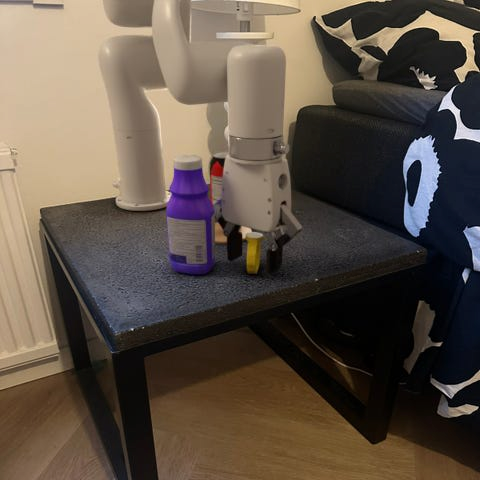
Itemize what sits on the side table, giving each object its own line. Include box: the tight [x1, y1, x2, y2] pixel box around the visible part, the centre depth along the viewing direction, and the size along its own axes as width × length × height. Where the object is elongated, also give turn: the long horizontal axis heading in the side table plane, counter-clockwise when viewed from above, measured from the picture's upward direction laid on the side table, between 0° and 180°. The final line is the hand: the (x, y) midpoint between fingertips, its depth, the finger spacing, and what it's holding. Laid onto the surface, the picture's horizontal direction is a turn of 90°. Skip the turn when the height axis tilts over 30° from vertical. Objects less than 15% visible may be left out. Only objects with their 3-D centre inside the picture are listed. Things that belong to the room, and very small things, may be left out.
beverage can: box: [209, 150, 229, 205], centre depth 95 cm, size 6×6×12 cm
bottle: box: [165, 154, 216, 275], centre depth 72 cm, size 7×6×17 cm
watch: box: [245, 231, 264, 275], centre depth 74 cm, size 6×3×6 cm, turn 171°
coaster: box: [215, 221, 253, 245], centre depth 89 cm, size 10×10×1 cm
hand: (253, 263), depth 75 cm, fingers open, 6 cm apart
